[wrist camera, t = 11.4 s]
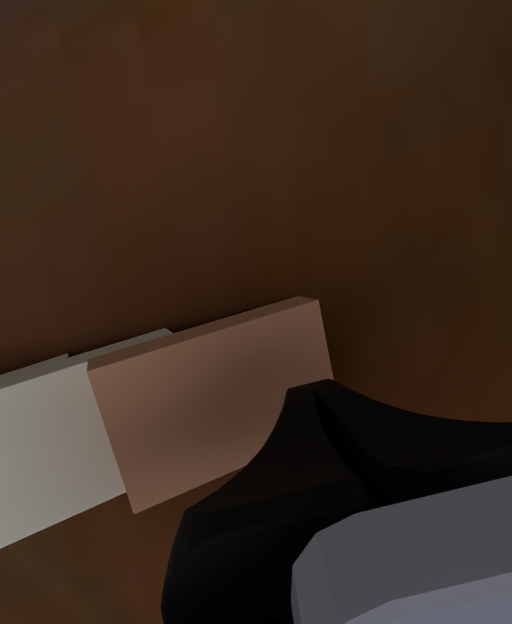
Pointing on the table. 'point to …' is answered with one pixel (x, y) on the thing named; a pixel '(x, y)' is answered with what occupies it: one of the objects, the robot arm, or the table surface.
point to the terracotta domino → (204, 395)
